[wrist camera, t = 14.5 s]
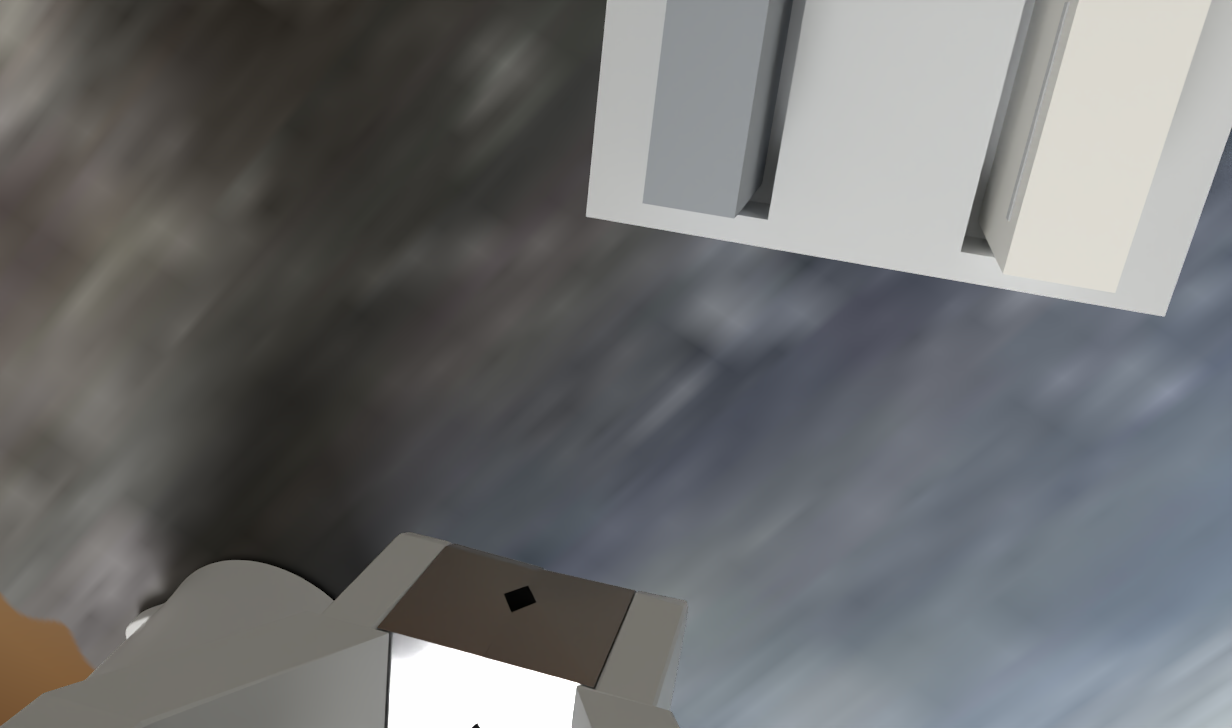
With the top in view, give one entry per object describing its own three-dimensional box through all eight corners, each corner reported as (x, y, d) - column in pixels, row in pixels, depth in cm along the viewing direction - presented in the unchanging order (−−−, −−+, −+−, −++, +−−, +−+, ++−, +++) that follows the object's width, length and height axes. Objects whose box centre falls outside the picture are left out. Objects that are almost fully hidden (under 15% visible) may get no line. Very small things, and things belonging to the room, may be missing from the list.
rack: (1134, 285, 34) (1202, 356, 26) (614, 198, 38) (550, 238, 31) (1257, -81, 29) (1381, -117, 22) (651, -133, 33) (584, -178, 26)
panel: (1042, -35, 30) (1091, -55, 23) (1144, -25, 29) (1227, -42, 22) (976, 220, 33) (1000, 273, 26) (1066, 234, 33) (1117, 293, 25)
